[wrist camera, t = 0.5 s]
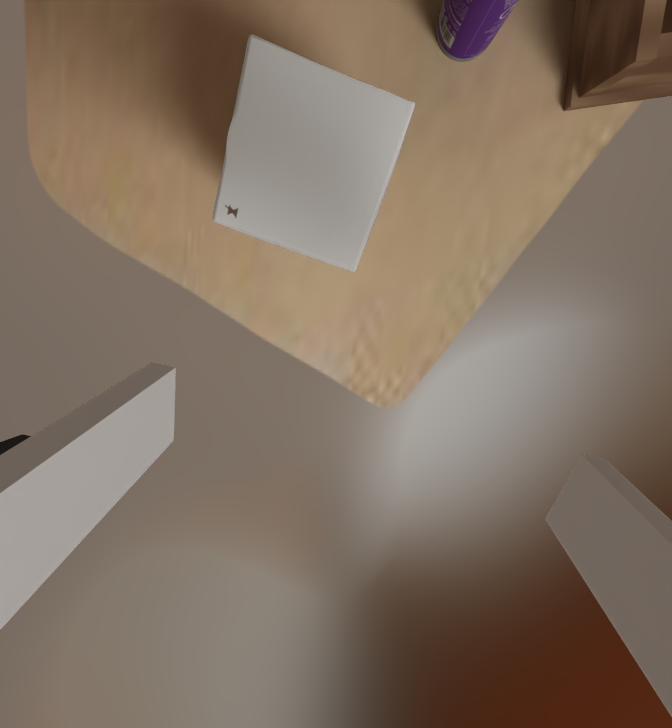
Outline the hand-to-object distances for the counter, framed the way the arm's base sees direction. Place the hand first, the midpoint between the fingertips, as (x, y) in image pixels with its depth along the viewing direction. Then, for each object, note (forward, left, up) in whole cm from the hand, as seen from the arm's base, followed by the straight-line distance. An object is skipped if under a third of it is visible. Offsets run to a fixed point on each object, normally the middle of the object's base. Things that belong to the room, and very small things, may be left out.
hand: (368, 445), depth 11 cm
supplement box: (-10, -2, -26) cm, 28 cm away
